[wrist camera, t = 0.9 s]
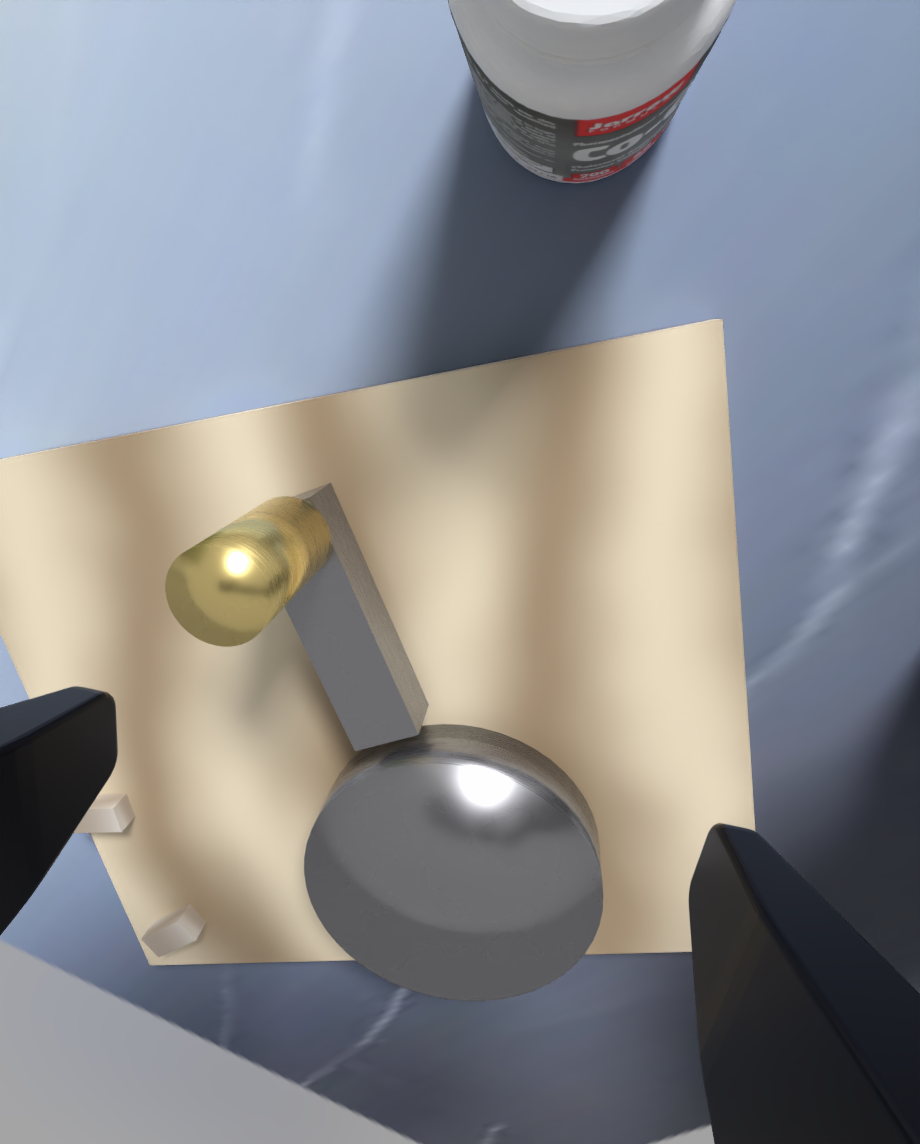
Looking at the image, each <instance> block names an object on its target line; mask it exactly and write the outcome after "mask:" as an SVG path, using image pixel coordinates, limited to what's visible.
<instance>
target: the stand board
mask: <svg viewBox="0 0 920 1144" xmlns="http://www.w3.org/2000/svg"><path fill="white" fill-rule="evenodd" d="M328 483H331V484H332V486H333V488H334V491H335V493H336V495H337V497H338V500H339V502H340V504H341V507H342V509H343V511H344V513H345V516H346V518H347V520H348V522H349V525H350V527H351V529H352V531H353V534H354V536H355V538H356V541H357V543H358V545H359V547H360V550H361V552H362V554H363V556H364V559H365V561H366V563H367V565H368V568H369V570H370V572H371V575H372V577H373V579H374V581H375V584H376V586H377V588H378V590H379V593H380V595H381V597H382V599H383V602H384V604H385V606H386V609H387V611H388V613H389V615H390V618H391V620H392V622H393V624H394V627H395V629H396V631H397V633H398V636H399V638H400V640H401V643H402V645H403V647H404V649H405V652H406V654H407V656H408V658H409V661H410V663H411V665H412V667H413V670H414V672H415V674H416V677H417V679H418V681H419V683H420V686H421V688H422V690H423V692H424V695H425V697H426V699H427V701H428V704H429V706H428V709H427V712H426V715H425V718H424V721H423V723H422V726H424V725H437V724H454V725H466V726H473V727H479V728H484V729H488V730H491V731H495V732H499V733H502V734H504V735H507V736H509V737H512V738H514V739H517V740H519V741H521V742H523V743H525V744H527V745H529V746H531V747H532V748H534V749H536V750H538V751H539V752H540V753H542V754H543V755H545V756H546V757H548V758H549V759H551V760H552V761H553V762H554V763H555V764H556V765H557V766H559V767H560V768H561V769H562V770H563V771H564V772H565V773H566V774H567V775H568V776H569V777H570V779H571V780H572V781H573V782H574V783H575V784H576V785H577V787H578V788H579V790H580V791H581V793H582V794H583V796H584V797H585V799H586V801H587V803H588V805H589V807H590V809H591V811H592V814H593V816H594V820H595V823H596V826H597V830H598V837H599V845H600V858H601V871H602V884H603V912H602V916H601V921H600V925H599V928H598V930H597V933H596V935H595V938H594V940H593V942H592V943H591V945H590V947H589V948H588V950H587V951H586V953H585V954H620V953H660V952H692V945H691V931H690V917H689V888H690V883H691V879H692V876H693V874H694V871H695V868H696V865H697V862H698V860H699V857H700V854H701V851H702V848H703V846H704V843H705V840H706V837H707V835H708V832H709V830H710V829H711V828H712V826H713V825H715V824H717V823H724V824H729V825H733V826H738V827H743V828H748V829H751V830H754V831H755V819H754V803H753V788H752V772H751V757H750V741H749V725H748V710H747V694H746V679H745V663H744V647H743V632H742V616H741V601H740V585H739V569H738V554H737V538H736V523H735V507H734V491H733V476H732V460H731V445H730V429H729V413H728V398H727V382H726V367H725V351H724V335H723V320H722V319H712V320H707V321H702V322H697V323H692V324H687V325H682V326H677V327H671V328H666V329H661V330H656V331H651V332H646V333H641V334H636V335H631V336H626V337H620V338H615V339H610V340H605V341H600V342H595V343H590V344H585V345H580V346H575V347H569V348H564V349H559V350H554V351H549V352H544V353H539V354H534V355H529V356H523V357H518V358H513V359H508V360H503V361H498V362H493V363H488V364H483V365H478V366H472V367H467V368H462V369H457V370H452V371H447V372H442V373H437V374H432V375H427V376H421V377H416V378H411V379H406V380H401V381H396V382H391V383H386V384H381V385H376V386H370V387H365V388H360V389H355V390H350V391H345V392H340V393H335V394H330V395H324V396H319V397H314V398H309V399H304V400H299V401H294V402H289V403H284V404H279V405H273V406H268V407H263V408H258V409H253V410H248V411H243V412H238V413H233V414H228V415H222V416H217V417H212V418H207V419H202V420H197V421H192V422H187V423H182V424H177V425H171V426H166V427H161V428H156V429H151V430H146V431H141V432H136V433H131V434H125V435H120V436H115V437H110V438H105V439H100V440H95V441H90V442H85V443H80V444H74V445H69V446H64V447H59V448H54V449H49V450H44V451H39V452H34V453H29V454H23V455H18V456H13V457H8V458H3V459H0V634H1V636H2V638H3V641H4V643H5V645H6V647H7V649H8V652H9V654H10V656H11V658H12V661H13V663H14V665H15V667H16V669H17V672H18V674H19V676H20V678H21V681H22V683H23V685H24V687H25V689H26V692H27V694H28V696H29V698H30V699H32V698H35V697H38V696H42V695H45V694H49V693H52V692H55V691H59V690H62V689H65V688H69V687H73V686H80V687H86V688H90V689H95V690H100V691H104V692H108V693H109V694H110V695H112V697H113V698H114V700H115V704H116V720H117V742H118V756H117V762H116V765H115V768H114V770H113V772H112V774H111V776H110V778H109V779H108V781H107V782H106V784H105V785H104V787H103V788H102V790H101V791H100V793H99V794H98V796H97V797H96V799H95V801H94V802H93V804H92V805H91V807H90V808H89V810H88V811H87V813H86V814H85V816H84V817H83V819H82V820H81V822H80V823H79V825H78V827H77V828H76V830H75V831H74V833H90V834H91V836H92V838H93V840H94V842H95V845H96V847H97V849H98V851H99V853H100V856H101V858H102V860H103V862H104V865H105V867H106V869H107V871H108V873H109V876H110V878H111V880H112V882H113V885H114V887H115V889H116V891H117V893H118V896H119V898H120V900H121V902H122V904H123V907H124V909H125V911H126V913H127V916H128V918H129V920H130V922H131V924H132V927H133V929H134V931H135V933H136V936H137V938H138V940H139V942H140V944H141V947H142V949H143V951H144V953H145V955H146V958H147V960H148V962H149V964H150V965H185V964H224V963H264V962H304V961H343V960H355V959H353V958H352V957H351V956H350V955H348V954H347V953H346V952H345V951H344V950H343V949H342V948H341V947H340V946H339V945H338V944H337V943H336V942H335V940H334V939H333V938H332V937H331V936H330V934H329V933H328V932H327V931H326V929H325V928H324V926H323V924H322V923H321V921H320V920H319V918H318V917H317V914H316V912H315V910H314V908H313V906H312V904H311V901H310V898H309V895H308V892H307V888H306V883H305V876H304V856H305V850H306V844H307V841H308V838H309V835H310V833H311V830H312V828H313V826H314V823H315V821H316V819H317V817H318V815H319V813H320V811H321V809H322V807H323V805H324V803H325V801H326V799H327V797H328V795H329V792H330V790H331V788H332V786H333V784H334V783H335V781H336V779H337V777H338V776H339V774H340V772H341V771H342V770H343V769H344V767H345V766H346V765H347V764H348V762H349V761H350V760H351V759H352V758H354V757H355V756H356V755H357V754H358V753H359V752H360V751H361V750H358V751H355V750H354V748H353V746H352V744H351V742H350V740H349V738H348V736H347V734H346V732H345V730H344V728H343V725H342V723H341V721H340V719H339V717H338V715H337V713H336V711H335V709H334V707H333V705H332V703H331V701H330V699H329V697H328V695H327V693H326V691H325V689H324V687H323V685H322V683H321V680H320V678H319V676H318V674H317V672H316V670H315V668H314V666H313V664H312V662H311V660H310V658H309V656H308V654H307V652H306V650H305V648H304V646H303V644H302V642H301V640H300V638H299V635H298V633H297V631H296V629H295V627H294V625H293V623H292V621H291V619H290V617H289V615H288V613H287V611H286V609H285V607H284V608H283V609H282V610H281V611H280V612H279V613H278V614H277V615H276V616H275V617H274V618H273V619H272V620H271V621H270V622H269V623H268V624H267V626H266V627H265V628H264V629H263V630H262V631H261V632H260V633H259V634H258V635H257V636H256V637H255V638H253V639H252V640H250V641H249V642H247V643H244V644H242V645H238V646H232V647H221V646H215V645H211V644H208V643H206V642H203V641H201V640H199V639H197V638H196V637H194V636H193V635H191V634H190V633H189V632H187V631H186V630H185V629H184V628H183V627H182V626H181V625H180V624H179V622H178V621H177V620H176V618H175V617H174V615H173V614H172V612H171V610H170V607H169V605H168V602H167V598H166V592H165V581H166V576H167V573H168V570H169V568H170V566H171V564H172V563H173V562H174V560H175V559H176V558H177V557H178V556H179V555H180V554H182V553H183V552H185V551H187V550H188V549H190V548H191V547H193V546H195V545H196V544H198V543H199V542H201V541H203V540H204V539H206V538H207V537H209V536H211V535H212V534H214V533H215V532H217V531H219V530H220V529H222V528H223V527H225V526H227V525H228V524H230V523H231V522H233V521H235V520H236V519H238V518H239V517H241V516H243V515H244V514H246V513H247V512H249V511H251V510H252V509H254V508H255V507H257V506H259V505H260V504H262V503H264V502H265V501H267V500H269V499H271V498H275V497H280V496H290V497H293V496H295V495H298V494H301V493H303V492H306V491H309V490H312V489H314V488H317V487H320V486H322V485H325V484H328ZM362 750H363V749H362Z"/></svg>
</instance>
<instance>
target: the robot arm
mask: <svg viewBox="0 0 920 1144" xmlns="http://www.w3.org/2000/svg"><path fill="white" fill-rule="evenodd" d="M117 756H118V742H117V720H116V704H115V700H114V698H113V697H112V695H110V694H109V693H108V692H104V691H100V690H95V689H90V688H86V687H80V686H73V687H69V688H65V689H62V690H59V691H55V692H52V693H49V694H45V695H42V696H38V697H35V698H32V699H28V700H25V701H22V702H18V703H15V704H12V705H8V706H5V707H1V708H0V935H1V934H2V933H3V931H4V930H5V929H6V928H7V926H8V925H9V924H10V923H11V921H12V920H13V919H14V918H15V916H16V915H17V914H18V912H19V911H20V910H21V909H22V907H23V906H24V905H25V903H26V902H27V901H28V899H29V898H30V897H31V895H32V894H33V893H34V891H35V890H36V888H37V887H38V885H39V884H40V883H41V881H42V880H43V878H44V877H45V875H46V874H47V872H48V871H49V869H50V868H51V866H52V865H53V863H54V862H55V860H56V859H57V857H58V856H59V854H60V852H61V851H62V849H63V848H64V846H65V845H66V843H67V842H68V840H69V839H70V837H71V836H72V834H73V833H74V831H75V830H76V828H77V827H78V825H79V823H80V822H81V820H82V819H83V817H84V816H85V814H86V813H87V811H88V810H89V808H90V807H91V805H92V804H93V802H94V801H95V799H96V797H97V796H98V794H99V793H100V791H101V790H102V788H103V787H104V785H105V784H106V782H107V781H108V779H109V778H110V776H111V774H112V772H113V770H114V768H115V765H116V762H117ZM689 917H690V931H691V945H692V959H693V973H694V987H695V1001H696V1015H697V1029H698V1040H699V1051H700V1060H701V1066H702V1073H703V1079H704V1086H705V1092H706V1097H707V1103H708V1109H709V1114H710V1120H711V1126H712V1131H713V1137H714V1143H715V1144H920V994H919V993H918V992H917V991H916V990H915V989H914V988H913V987H912V986H911V985H910V984H909V983H908V982H907V981H906V980H905V979H904V978H903V977H902V976H901V975H900V974H899V973H898V972H897V971H896V970H895V969H894V968H893V967H892V966H891V965H890V964H889V963H888V962H887V961H886V960H885V959H884V958H883V957H882V956H881V955H880V954H879V953H878V952H877V951H876V950H875V949H874V948H873V947H872V946H871V945H870V944H869V943H868V942H867V941H866V940H865V939H864V938H863V937H862V936H861V935H860V934H859V933H858V932H857V931H856V930H855V929H854V928H853V927H852V926H851V925H850V924H849V923H848V922H847V921H846V920H845V919H844V918H843V917H842V916H841V915H840V914H839V913H838V912H837V911H836V910H835V909H834V908H833V907H832V906H831V905H830V904H829V903H828V902H827V901H826V900H825V899H824V898H823V897H822V896H821V895H820V894H819V893H818V892H817V891H816V890H815V889H814V888H813V887H812V886H811V885H810V884H809V883H808V882H807V881H806V880H805V879H804V878H803V877H802V876H801V875H800V874H799V873H798V872H797V871H796V870H795V869H794V868H793V867H792V866H791V865H790V864H789V863H788V862H787V861H786V860H785V859H784V858H783V857H782V856H781V855H780V854H779V853H778V852H777V851H776V850H775V849H774V848H773V847H772V846H771V845H770V844H769V843H768V842H767V841H765V840H764V839H763V838H762V837H761V836H760V835H759V834H758V833H757V832H755V831H754V830H751V829H748V828H743V827H738V826H733V825H729V824H724V823H717V824H715V825H713V826H712V828H711V829H710V830H709V832H708V835H707V837H706V840H705V843H704V846H703V848H702V851H701V854H700V857H699V860H698V862H697V865H696V868H695V871H694V874H693V876H692V879H691V883H690V888H689Z"/></svg>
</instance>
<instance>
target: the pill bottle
mask: <svg viewBox="0 0 920 1144" xmlns="http://www.w3.org/2000/svg"><path fill="white" fill-rule="evenodd" d="M735 2H736V0H448V3H449V7H450V11H451V15H452V17H453V20H454V23H455V26H456V28H457V31H458V34H459V37H460V40H461V44H462V47H463V50H464V53H465V56H466V59H467V62H468V65H469V68H470V71H471V74H472V77H473V80H474V82H475V85H476V89H477V92H478V94H479V97H480V100H481V103H482V106H483V109H484V111H485V114H486V117H487V119H488V121H489V123H490V125H491V128H492V130H493V131H494V133H495V135H496V137H497V138H498V140H499V141H500V143H501V144H502V146H503V147H504V149H505V150H506V151H507V152H508V153H509V154H510V156H511V157H512V158H513V159H515V160H516V161H517V162H518V163H519V164H520V165H522V166H523V167H524V168H526V169H527V170H529V171H531V172H532V173H534V174H536V175H538V176H540V177H543V178H546V179H549V180H553V181H557V182H564V183H584V182H592V181H596V180H599V179H602V178H605V177H608V176H610V175H613V174H614V173H616V172H618V171H620V170H622V169H624V168H626V167H627V166H629V165H630V164H631V163H633V162H634V161H635V160H637V159H638V158H639V157H640V156H641V155H643V154H644V153H645V152H646V151H647V150H648V149H649V148H650V147H651V146H652V145H653V144H654V143H655V141H656V140H657V139H658V138H659V136H660V135H661V134H662V133H663V131H664V130H665V129H666V127H667V126H668V125H669V123H670V121H671V119H672V118H673V116H674V114H675V112H676V110H677V108H678V106H679V104H680V102H681V101H682V99H683V97H684V96H685V94H686V92H687V90H688V88H689V87H690V85H691V83H692V82H693V80H694V79H695V76H696V75H697V73H698V71H699V69H700V67H701V66H702V64H703V62H704V61H705V59H706V57H707V55H708V54H709V52H710V50H711V49H712V47H713V45H714V43H715V42H716V40H717V38H718V36H719V34H720V32H721V30H722V28H723V26H724V24H725V23H726V21H727V19H728V17H729V15H730V13H731V11H732V8H733V6H734V4H735Z"/></svg>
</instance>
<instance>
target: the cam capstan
mask: <svg viewBox="0 0 920 1144" xmlns="http://www.w3.org/2000/svg"><path fill="white" fill-rule="evenodd" d="M165 592H166V598H167V602H168V605H169V607H170V610H171V612H172V614H173V615H174V617H175V618H176V620H177V621H178V622H179V624H180V625H181V626H182V627H183V628H184V629H185V630H186V631H187V632H189V633H190V634H191V635H193V636H194V637H196V638H197V639H199V640H201V641H203V642H206V643H208V644H211V645H215V646H221V647H232V646H238V645H242V644H244V643H247V642H249V641H250V640H252V639H253V638H255V637H256V636H257V635H258V634H259V633H260V632H261V631H262V630H263V629H264V628H265V627H266V626H267V624H268V623H269V622H270V621H271V620H272V619H273V618H274V617H275V616H276V615H277V614H278V613H279V612H280V611H281V610H282V609H283V608H284V607H285V609H286V611H287V613H288V615H289V617H290V619H291V621H292V623H293V625H294V627H295V629H296V631H297V633H298V635H299V638H300V640H301V642H302V644H303V646H304V648H305V650H306V652H307V654H308V656H309V658H310V660H311V662H312V664H313V666H314V668H315V670H316V672H317V674H318V676H319V678H320V680H321V683H322V685H323V687H324V689H325V691H326V693H327V695H328V697H329V699H330V701H331V703H332V705H333V707H334V709H335V711H336V713H337V715H338V717H339V719H340V721H341V723H342V725H343V728H344V730H345V732H346V734H347V736H348V738H349V740H350V742H351V744H352V746H353V748H354V750H355V751H358V750H361V751H360V752H359V753H358V754H357V755H356V756H355V757H354V758H352V759H351V760H350V761H349V762H348V764H347V765H346V766H345V767H344V769H343V770H342V771H341V772H340V774H339V776H338V777H337V779H336V781H335V783H334V784H333V786H332V788H331V790H330V792H329V795H328V797H327V799H326V801H325V803H324V805H323V807H322V809H321V811H320V813H319V815H318V817H317V819H316V821H315V823H314V826H313V828H312V830H311V833H310V835H309V838H308V841H307V844H306V850H305V856H304V876H305V883H306V888H307V892H308V895H309V898H310V901H311V904H312V906H313V908H314V910H315V912H316V914H317V917H318V918H319V920H320V921H321V923H322V924H323V926H324V928H325V929H326V931H327V932H328V933H329V934H330V936H331V937H332V938H333V939H334V940H335V942H336V943H337V944H338V945H339V946H340V947H341V948H342V949H343V950H344V951H345V952H346V953H347V954H348V955H350V956H351V957H352V958H353V959H355V960H356V961H357V962H358V963H360V964H361V965H362V966H364V967H365V968H367V969H368V970H370V971H372V972H373V973H375V974H376V975H378V976H380V977H382V978H384V979H386V980H388V981H390V982H392V983H394V984H396V985H399V986H401V987H404V988H406V989H409V990H411V991H415V992H418V993H422V994H425V995H429V996H434V997H439V998H444V999H451V1000H461V1001H487V1000H498V999H504V998H509V997H514V996H519V995H522V994H525V993H528V992H531V991H534V990H536V989H538V988H541V987H543V986H545V985H547V984H549V983H551V982H552V981H554V980H556V979H557V978H559V977H560V976H562V975H563V974H565V973H566V972H567V971H568V970H569V969H571V968H572V967H573V966H574V965H575V964H576V963H577V962H578V961H579V960H580V959H581V957H582V956H583V955H584V954H585V953H586V951H587V950H588V948H589V947H590V945H591V943H592V942H593V940H594V938H595V935H596V933H597V930H598V928H599V925H600V921H601V916H602V912H603V884H602V871H601V858H600V845H599V837H598V830H597V826H596V823H595V820H594V816H593V814H592V811H591V809H590V807H589V805H588V803H587V801H586V799H585V797H584V796H583V794H582V793H581V791H580V790H579V788H578V787H577V785H576V784H575V783H574V782H573V781H572V780H571V779H570V777H569V776H568V775H567V774H566V773H565V772H564V771H563V770H562V769H561V768H560V767H559V766H557V765H556V764H555V763H554V762H553V761H552V760H551V759H549V758H548V757H546V756H545V755H543V754H542V753H540V752H539V751H538V750H536V749H534V748H532V747H531V746H529V745H527V744H525V743H523V742H521V741H519V740H517V739H514V738H512V737H509V736H507V735H504V734H502V733H499V732H495V731H491V730H488V729H484V728H479V727H473V726H466V725H454V724H437V725H424V726H422V723H423V721H424V718H425V715H426V712H427V709H428V706H429V704H428V701H427V699H426V697H425V695H424V692H423V690H422V688H421V686H420V683H419V681H418V679H417V677H416V674H415V672H414V670H413V667H412V665H411V663H410V661H409V658H408V656H407V654H406V652H405V649H404V647H403V645H402V643H401V640H400V638H399V636H398V633H397V631H396V629H395V627H394V624H393V622H392V620H391V618H390V615H389V613H388V611H387V609H386V606H385V604H384V602H383V599H382V597H381V595H380V593H379V590H378V588H377V586H376V584H375V581H374V579H373V577H372V575H371V572H370V570H369V568H368V565H367V563H366V561H365V559H364V556H363V554H362V552H361V550H360V547H359V545H358V543H357V541H356V538H355V536H354V534H353V531H352V529H351V527H350V525H349V522H348V520H347V518H346V516H345V513H344V511H343V509H342V507H341V504H340V502H339V500H338V497H337V495H336V493H335V491H334V488H333V486H332V484H331V483H328V484H325V485H322V486H320V487H317V488H314V489H312V490H309V491H306V492H303V493H301V494H298V495H295V496H293V497H290V496H280V497H275V498H271V499H269V500H267V501H265V502H264V503H262V504H260V505H259V506H257V507H255V508H254V509H252V510H251V511H249V512H247V513H246V514H244V515H243V516H241V517H239V518H238V519H236V520H235V521H233V522H231V523H230V524H228V525H227V526H225V527H223V528H222V529H220V530H219V531H217V532H215V533H214V534H212V535H211V536H209V537H207V538H206V539H204V540H203V541H201V542H199V543H198V544H196V545H195V546H193V547H191V548H190V549H188V550H187V551H185V552H183V553H182V554H180V555H179V556H178V557H177V558H176V559H175V560H174V562H173V563H172V564H171V566H170V568H169V570H168V573H167V576H166V581H165ZM362 749H363V750H362Z"/></svg>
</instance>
